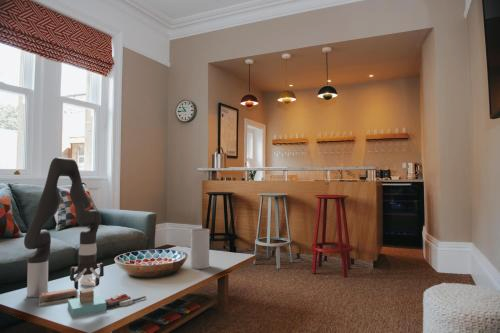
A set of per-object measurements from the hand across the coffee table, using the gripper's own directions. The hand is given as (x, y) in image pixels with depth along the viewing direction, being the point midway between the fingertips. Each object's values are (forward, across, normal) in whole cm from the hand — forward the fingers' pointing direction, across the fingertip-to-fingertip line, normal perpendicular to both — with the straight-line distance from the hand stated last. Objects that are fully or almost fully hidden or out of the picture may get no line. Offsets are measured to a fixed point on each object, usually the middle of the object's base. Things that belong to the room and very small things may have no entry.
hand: (86, 287), depth 164 cm
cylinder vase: (+10, -78, -36) cm, 87 cm away
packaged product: (+11, +9, -20) cm, 24 cm away
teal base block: (+10, 0, 0) cm, 10 cm away
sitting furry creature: (+10, -8, -38) cm, 40 cm away
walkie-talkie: (+10, -17, +2) cm, 20 cm away
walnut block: (+6, 0, 0) cm, 6 cm away
